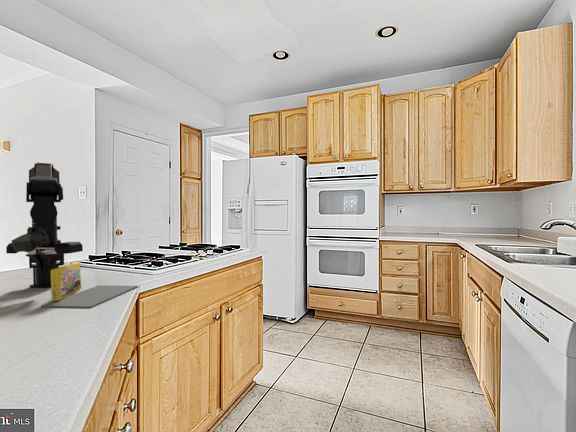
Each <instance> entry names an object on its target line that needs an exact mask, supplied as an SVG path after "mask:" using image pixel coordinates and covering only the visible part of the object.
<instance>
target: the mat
mask: <svg viewBox="0 0 576 432" xmlns="http://www.w3.org/2000/svg"><path fill="white" fill-rule="evenodd" d="M137 288H139V285H101V284H100V285H99V284H98V285H95V286H93V287H91V288H88V289H87V288H86V289H85V290H82V291H78V292H77V293H72V294H70V295H68V296H66V297H65V298H63V299H61V300H59V301H53V302H52V301H50V302H48V303H45V304H41V306H40V307H41V308H55V309H56V308H62V309H63V308H64V309H65V308H67V309H70V308H71V309H92V308H94V307H96V306H98V305H101V304H103V303H105V302H107V301H110V300H113V299H115V298H117V297H119V296H121V295H124V294H125V293H128V292H130V291H133V290H135V289H137Z"/></svg>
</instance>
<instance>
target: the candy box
mask: <svg viewBox="0 0 576 432" xmlns="http://www.w3.org/2000/svg"><path fill="white" fill-rule="evenodd" d="M81 275H82V273H81V262H72V263H69V264H64V265H62V266H60V267H59V268H56V269H53V270H51V286H50V290H51V302H53V301H59V300H61V299H63V298H65V297H67V296H70V295H73V294H75V292H77V291H79V290H81V289H82V278H81V277H82V276H81Z"/></svg>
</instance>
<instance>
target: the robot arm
mask: <svg viewBox="0 0 576 432" xmlns="http://www.w3.org/2000/svg"><path fill="white" fill-rule="evenodd" d="M60 182H61V181H60V171H59V170H57V169H56V168H54V164H52V163H48V162H47V163H45V162H36V163H34V166H33V167H32V168H31V169H29V170H28V181H27V182H26V188H25V189H26V194H25V195H26V197H25V198H26V199H25V201H26V203H33V204H32V206H31V208H30V210H29V215H30V217H31V226H28V227H27V228H26V229H27V231H26V233H24V234H21V235H20V236H18V237H16V238H14V239H12V240H11V242H10V243H8V244H7V245H6V248H5V250H6V251H5V253H6V254H18V253H19V252H25V253H27V254H25V257H27V258H28V263H29V264H28V265H29V269H32V274H33V275H32V277H33V280H32V281H33V284H30V285H29V287H30V288H49V287H50V288H51V270H53V269H56V268H59V266H60V267H62V266H65V254H66V255H67V254H73V253H74V254H75V253H80V252H83V244H82V243H81V241H64V242H62V240H61V239H58V231H61V225H59V226H58V209H57V206H56V204H55V203H62V201H64V188H63V187H62V184H61V183H60Z"/></svg>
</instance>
